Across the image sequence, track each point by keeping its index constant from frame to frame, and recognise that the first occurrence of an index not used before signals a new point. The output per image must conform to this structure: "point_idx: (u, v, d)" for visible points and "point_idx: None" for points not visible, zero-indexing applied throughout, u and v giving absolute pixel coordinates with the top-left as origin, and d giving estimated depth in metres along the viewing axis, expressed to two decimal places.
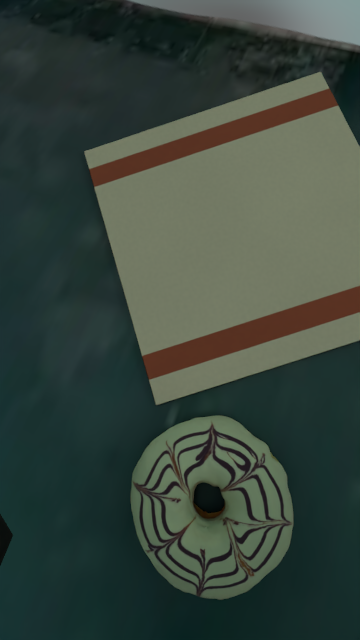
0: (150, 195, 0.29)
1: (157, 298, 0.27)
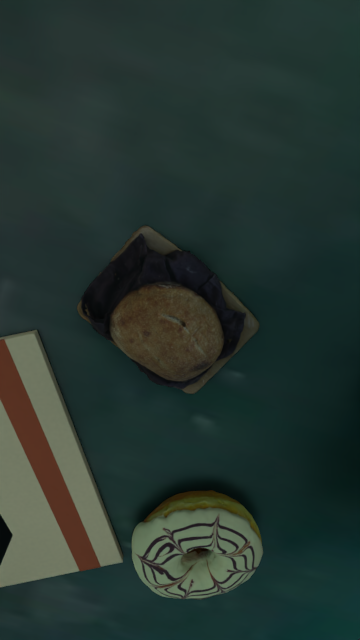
0: None
1: (24, 561, 0.29)
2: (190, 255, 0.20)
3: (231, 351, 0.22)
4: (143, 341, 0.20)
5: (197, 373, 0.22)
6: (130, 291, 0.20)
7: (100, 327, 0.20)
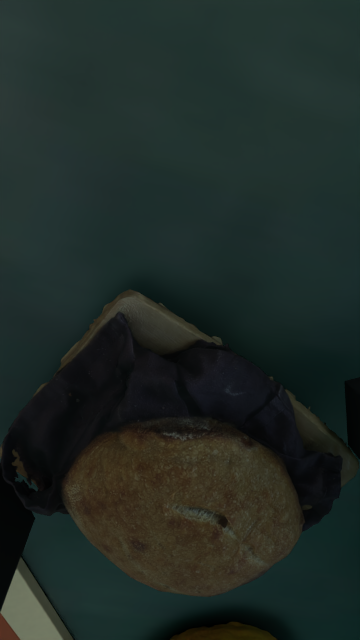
0: None
1: None
2: (232, 359, 0.09)
3: (310, 525, 0.11)
4: (132, 558, 0.09)
5: None
6: (102, 432, 0.10)
7: (40, 512, 0.09)
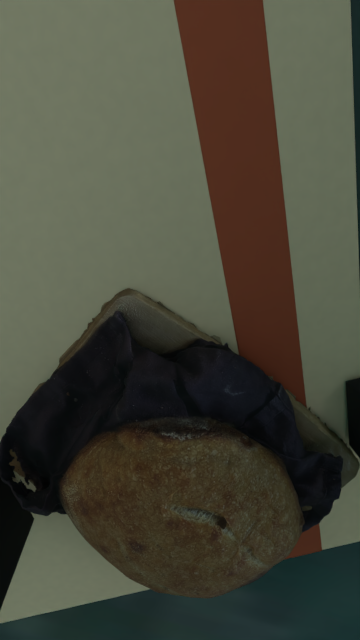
0: None
1: None
2: (231, 358, 0.09)
3: (310, 526, 0.11)
4: (130, 559, 0.09)
5: None
6: (100, 432, 0.09)
7: (37, 513, 0.09)
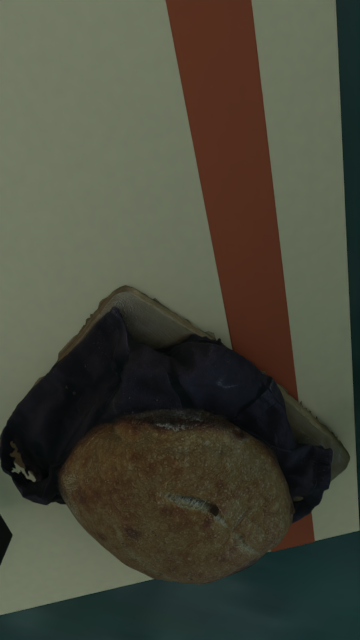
0: None
1: None
2: (224, 353, 0.09)
3: (301, 516, 0.11)
4: (126, 545, 0.09)
5: None
6: (98, 424, 0.10)
7: (37, 502, 0.10)
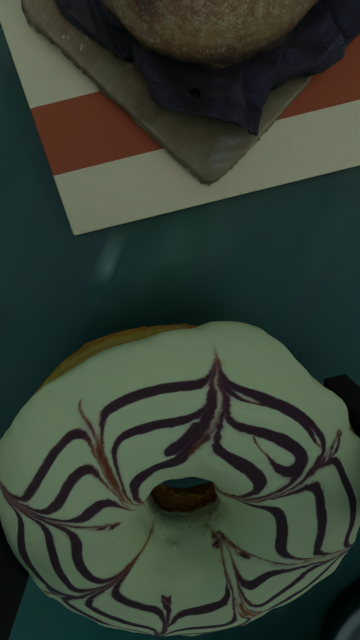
0: None
1: None
2: None
3: (168, 100, 0.09)
4: None
5: None
6: None
7: None
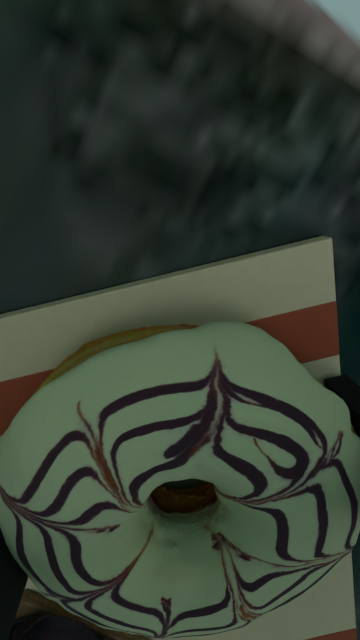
0: None
1: None
2: None
3: None
4: None
5: None
6: None
7: None
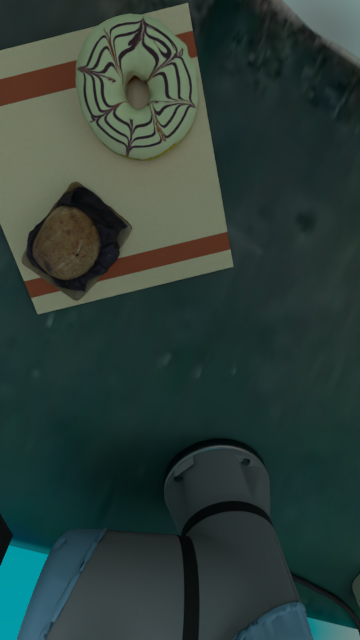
0: (15, 136, 0.32)
1: None
2: (117, 256, 0.35)
3: (59, 285, 0.35)
4: (62, 230, 0.32)
5: (41, 264, 0.34)
6: (92, 220, 0.33)
7: (66, 200, 0.32)
